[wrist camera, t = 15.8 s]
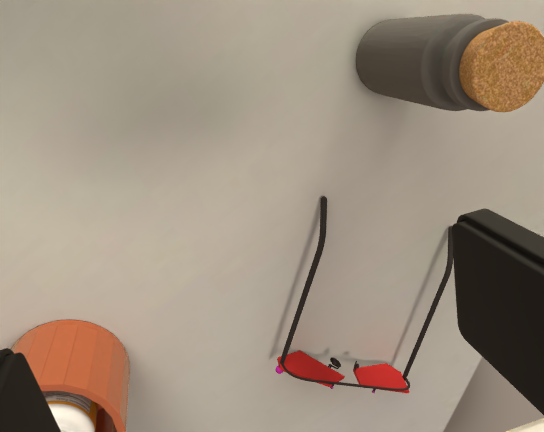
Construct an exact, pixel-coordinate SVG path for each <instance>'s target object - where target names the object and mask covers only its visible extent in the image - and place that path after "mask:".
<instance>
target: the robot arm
mask: <svg viewBox="0 0 544 432" xmlns="http://www.w3.org/2000/svg"><path fill="white" fill-rule="evenodd" d="M452 243H453V258H454V273H455V288H456V303H457V318H458V327H459V330H460V332H461V334H462V336H463V338H464V339H465V340H466V341H467V342H468V343H469V344H470V345H471V346H472V347H473V348H474V349H475V350H476V351H477V352H478V353H480V354H481V355H482V356H483V357H484V358H485V359H486V360H487V361H488V362H489V363H490V364H491V365H492V366H493V367H494V368H495V369H496V370H497V371H498V372H499V373H500V374H501V375H502V376H503V377H505V378H506V379H507V380H508V381H509V382H510V383H511V384H512V385H513V386H514V387H515V388H516V389H517V390H518V391H519V392H520V393H521V394H523V396H524V397H525V398H526V399H527V400H528V401H530V402H531V403H532V404H533V405H534V406H535V407H536V408H537V409H538V410H539V411H540V412H541V413H542V414H543V415H544V238H543V237H542V236H540V235H538V234H536V233H534V232H532V231H530V230H528V229H526V228H524V227H522V226H520V225H518V224H516V223H514V222H512V221H510V220H508V219H506V218H504V217H502V216H500V215H498V214H496V213H494V212H492V211H490V210H488V209H481V210H477V211H474V212H471V213H467V214H464V215H460V216H459V218H458V220H457V223H456V224H454V225H453V227H452ZM0 432H61V430H60V428H59V426H58V424H57V422H56V420H55V418H54V416H53V414H52V412H51V410H50V407H49V405H48V403H47V401H46V399H45V397H44V395H43V393H42V391H41V389H40V387H39V385H38V382H37V380H36V378H35V376H34V374H33V372H32V370H31V368H30V366H29V364H28V362H27V360H26V358H25V356H24V355H23V354H22V353H20V352H19V353H15V354H14V352H13V351H12V350H11V349H8V348H6V349H3V350H0ZM506 432H544V418H542V419H539V420H536V421H534V422H531V423H528V424H525V425H522V426H520V427H517V428H514V429H511V430H508V431H506Z"/></svg>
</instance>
